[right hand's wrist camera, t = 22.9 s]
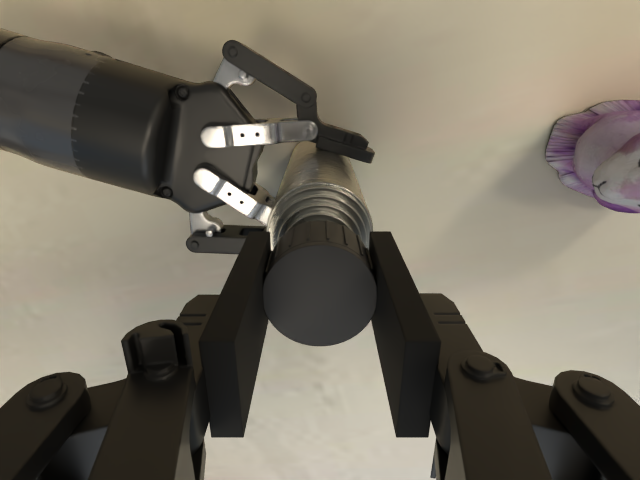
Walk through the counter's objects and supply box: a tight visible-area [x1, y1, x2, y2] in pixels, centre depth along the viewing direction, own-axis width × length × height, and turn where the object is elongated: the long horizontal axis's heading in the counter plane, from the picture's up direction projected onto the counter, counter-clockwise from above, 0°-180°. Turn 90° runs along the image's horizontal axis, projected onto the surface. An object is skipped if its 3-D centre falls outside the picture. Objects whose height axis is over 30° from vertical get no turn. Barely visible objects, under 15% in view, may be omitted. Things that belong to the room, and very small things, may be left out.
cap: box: [263, 220, 377, 346], centre depth 14 cm, size 4×4×2 cm
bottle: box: [266, 141, 373, 251], centre depth 23 cm, size 5×5×21 cm
